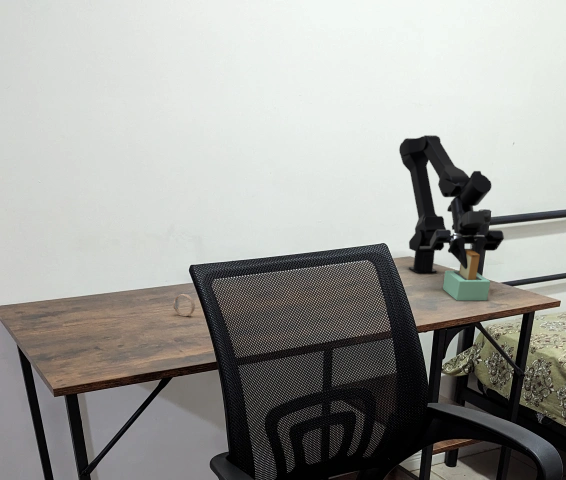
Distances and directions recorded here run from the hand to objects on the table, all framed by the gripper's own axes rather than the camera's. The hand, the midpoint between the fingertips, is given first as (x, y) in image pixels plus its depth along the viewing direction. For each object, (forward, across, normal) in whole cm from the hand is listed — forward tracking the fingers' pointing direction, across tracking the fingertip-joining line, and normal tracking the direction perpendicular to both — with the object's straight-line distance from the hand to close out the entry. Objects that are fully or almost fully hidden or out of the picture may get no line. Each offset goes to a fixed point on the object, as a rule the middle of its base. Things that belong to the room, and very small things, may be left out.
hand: (470, 268), depth 191 cm
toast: (+4, 0, +6) cm, 7 cm away
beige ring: (+18, -76, -7) cm, 78 cm away
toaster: (+4, 0, +6) cm, 7 cm away
